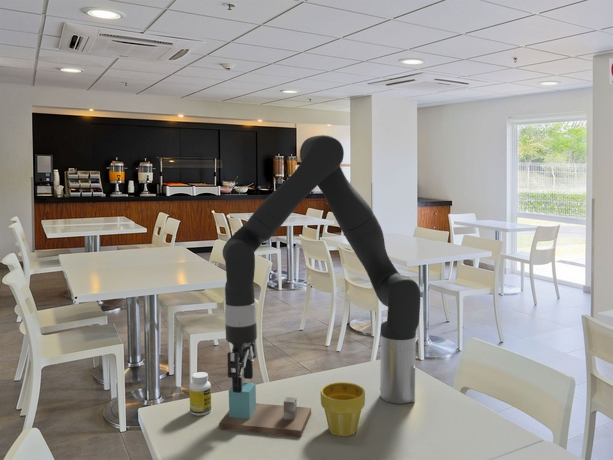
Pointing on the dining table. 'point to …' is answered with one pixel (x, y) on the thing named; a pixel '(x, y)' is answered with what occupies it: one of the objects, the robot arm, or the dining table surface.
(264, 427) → the post board
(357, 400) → the plant pot
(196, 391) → the supplement bottle
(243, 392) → the teal rectangular block
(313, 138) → the robot arm
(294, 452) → the dining table surface
